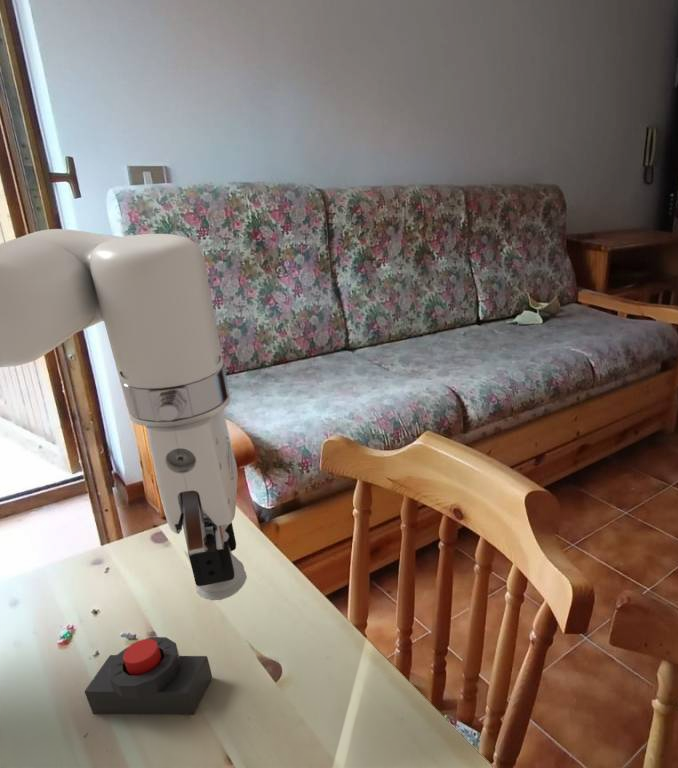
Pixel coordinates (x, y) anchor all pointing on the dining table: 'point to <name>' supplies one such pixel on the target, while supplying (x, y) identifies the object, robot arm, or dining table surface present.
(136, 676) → the power button base
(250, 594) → the dining table surface
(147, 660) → the power button
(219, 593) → the rook chess piece
